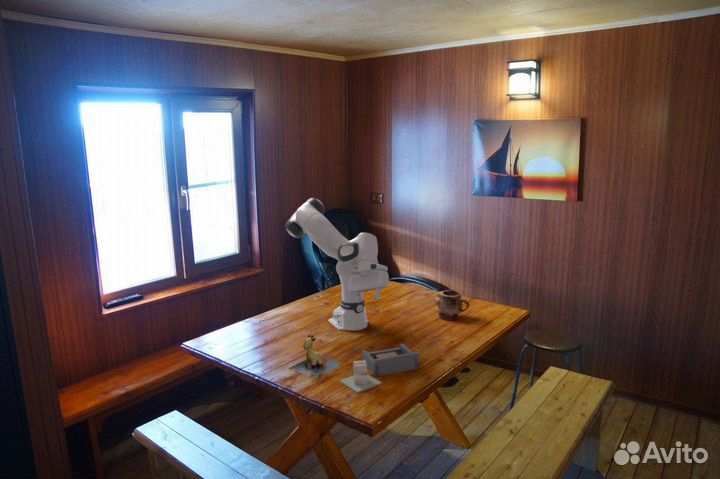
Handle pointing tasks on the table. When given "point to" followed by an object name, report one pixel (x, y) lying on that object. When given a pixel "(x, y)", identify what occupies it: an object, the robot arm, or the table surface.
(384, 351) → the nook
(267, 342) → the table surface
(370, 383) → the mat
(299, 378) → the table surface
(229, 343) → the table surface
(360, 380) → the block
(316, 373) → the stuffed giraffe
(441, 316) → the brown ceramic mug
